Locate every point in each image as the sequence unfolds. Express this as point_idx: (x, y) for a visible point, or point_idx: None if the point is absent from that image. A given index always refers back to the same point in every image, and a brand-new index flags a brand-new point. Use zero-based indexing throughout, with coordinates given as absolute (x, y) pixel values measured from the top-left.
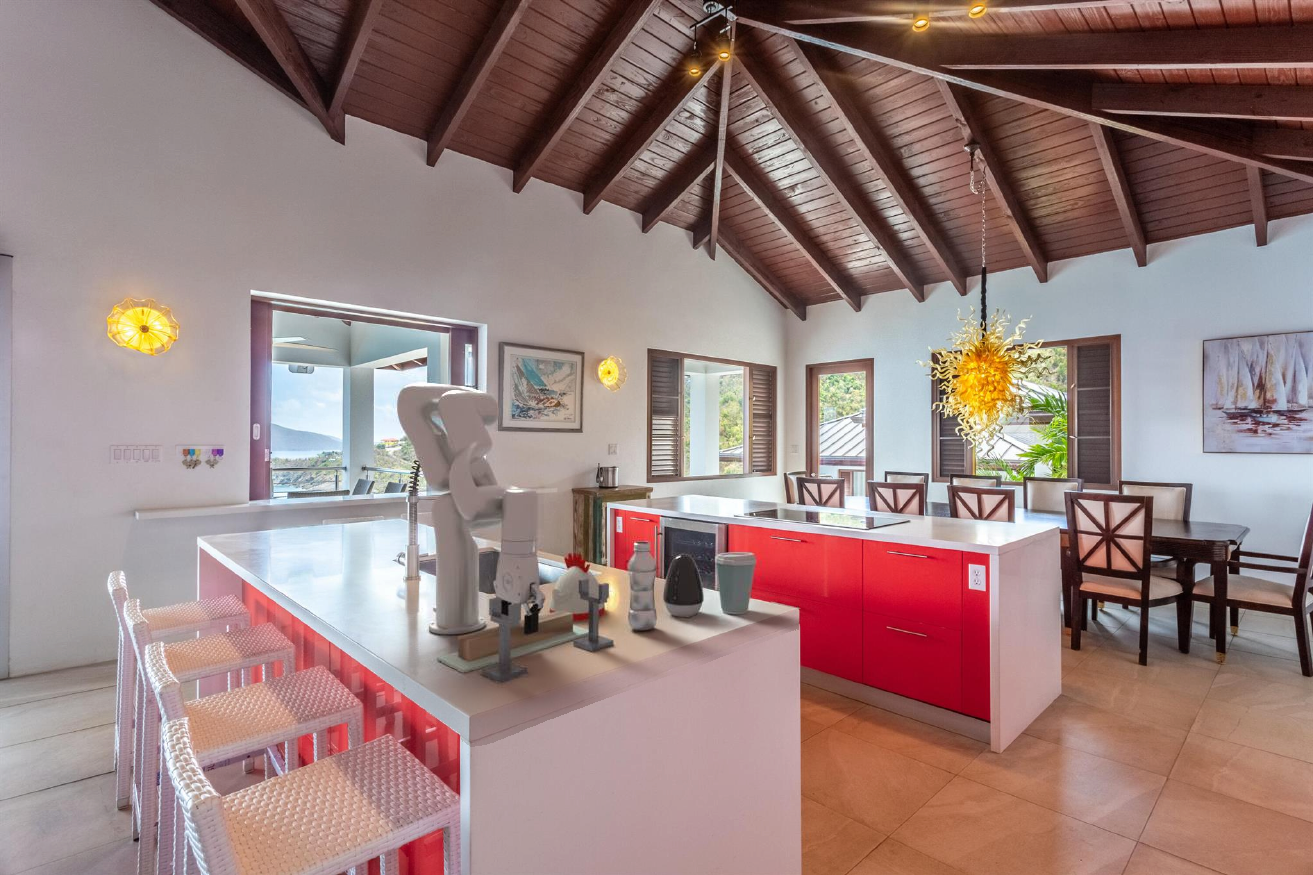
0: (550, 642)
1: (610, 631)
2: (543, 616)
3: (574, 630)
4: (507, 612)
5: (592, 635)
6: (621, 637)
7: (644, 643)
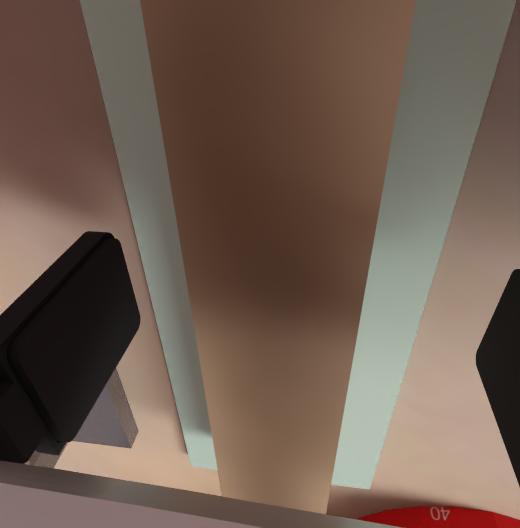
0: (172, 325)
1: (176, 484)
2: (301, 470)
3: None
4: (516, 400)
5: None
6: (100, 465)
7: None
